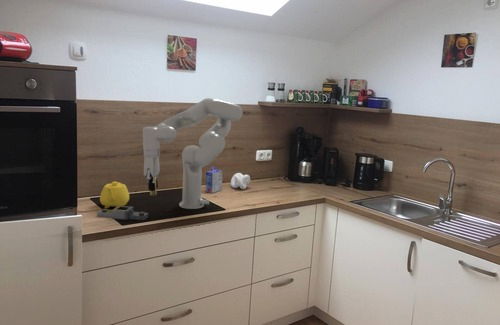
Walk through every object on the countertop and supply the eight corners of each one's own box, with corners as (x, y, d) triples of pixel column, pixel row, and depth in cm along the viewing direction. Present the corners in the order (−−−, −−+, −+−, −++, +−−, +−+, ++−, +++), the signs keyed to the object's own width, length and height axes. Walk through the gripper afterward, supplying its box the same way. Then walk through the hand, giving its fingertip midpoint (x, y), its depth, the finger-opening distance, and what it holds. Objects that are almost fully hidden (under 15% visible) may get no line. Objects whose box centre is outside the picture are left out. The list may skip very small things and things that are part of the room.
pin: (157, 194, 205) (156, 174, 203) (155, 195, 202) (154, 175, 200) (151, 193, 205) (150, 174, 203) (149, 195, 202) (148, 175, 200)
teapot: (94, 211, 198) (93, 186, 196) (107, 200, 218) (107, 177, 215) (122, 213, 198) (122, 187, 196) (133, 201, 218) (133, 178, 216)
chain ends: (148, 216, 196) (149, 208, 195) (143, 221, 189) (143, 212, 188) (103, 212, 198) (103, 204, 197) (96, 216, 191) (96, 208, 190)
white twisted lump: (244, 185, 267) (245, 171, 265) (253, 189, 257) (254, 175, 255) (228, 186, 261) (229, 172, 260) (237, 191, 251) (238, 176, 250)
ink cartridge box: (215, 188, 254) (215, 165, 252) (222, 190, 252) (223, 166, 249) (204, 191, 246) (205, 167, 244) (212, 193, 243) (213, 169, 241)
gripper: (150, 149, 207) (151, 185, 211) (137, 155, 191) (139, 194, 195) (164, 149, 206) (165, 185, 210) (153, 156, 191) (155, 194, 195)
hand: (153, 189), depth 203 cm, fingers closed on pin, 3 cm apart
